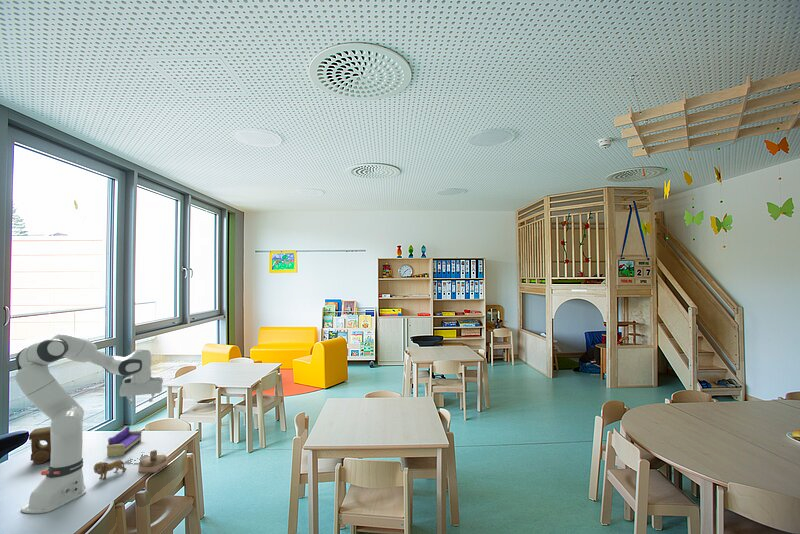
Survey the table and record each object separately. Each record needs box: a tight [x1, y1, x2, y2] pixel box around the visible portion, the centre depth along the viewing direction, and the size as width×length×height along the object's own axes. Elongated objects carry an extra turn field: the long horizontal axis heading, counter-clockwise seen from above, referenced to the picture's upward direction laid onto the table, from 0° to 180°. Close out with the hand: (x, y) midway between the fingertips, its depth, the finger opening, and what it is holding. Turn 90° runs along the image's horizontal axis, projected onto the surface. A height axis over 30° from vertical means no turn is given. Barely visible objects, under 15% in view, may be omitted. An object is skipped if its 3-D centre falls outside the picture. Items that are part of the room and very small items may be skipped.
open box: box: [137, 457, 169, 474], centre depth 199 cm, size 9×9×4 cm
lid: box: [138, 449, 168, 467], centre depth 200 cm, size 12×12×5 cm
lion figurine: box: [93, 459, 127, 481], centre depth 192 cm, size 15×5×9 cm, turn 155°
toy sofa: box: [106, 425, 143, 457], centre depth 223 cm, size 21×9×10 cm, turn 9°
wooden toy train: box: [28, 426, 51, 465], centre depth 211 cm, size 20×11×17 cm, turn 119°
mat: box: [123, 454, 149, 466], centre depth 210 cm, size 14×14×1 cm
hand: (141, 402), depth 217 cm, fingers open, 8 cm apart
